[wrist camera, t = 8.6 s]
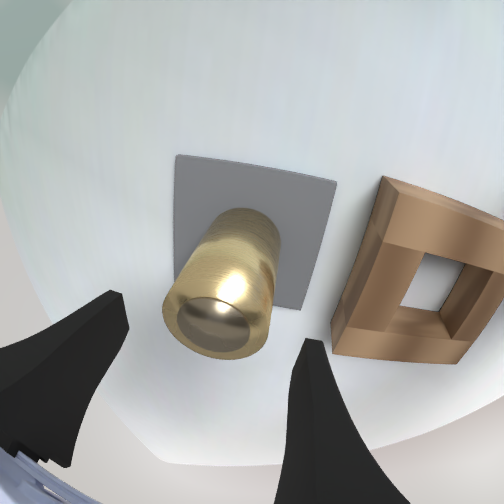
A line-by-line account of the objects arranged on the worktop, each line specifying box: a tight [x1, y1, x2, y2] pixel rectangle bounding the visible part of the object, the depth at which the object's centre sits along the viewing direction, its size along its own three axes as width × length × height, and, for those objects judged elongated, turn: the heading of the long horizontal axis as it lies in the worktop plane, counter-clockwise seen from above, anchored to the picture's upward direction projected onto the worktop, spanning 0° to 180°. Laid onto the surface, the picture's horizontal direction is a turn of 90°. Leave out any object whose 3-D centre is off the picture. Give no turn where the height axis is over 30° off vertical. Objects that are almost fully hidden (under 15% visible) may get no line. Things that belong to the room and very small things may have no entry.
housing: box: [331, 176, 504, 364], centre depth 15 cm, size 11×11×3 cm
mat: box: [174, 154, 337, 310], centre depth 17 cm, size 9×9×1 cm
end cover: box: [162, 208, 281, 360], centre depth 14 cm, size 4×4×7 cm
